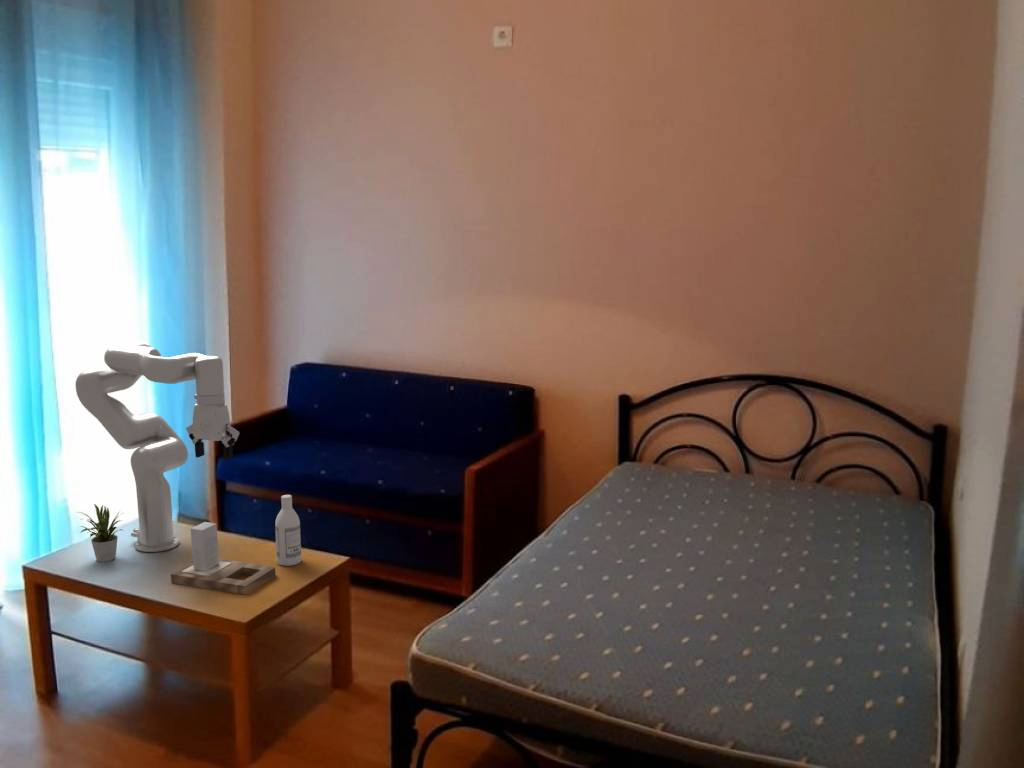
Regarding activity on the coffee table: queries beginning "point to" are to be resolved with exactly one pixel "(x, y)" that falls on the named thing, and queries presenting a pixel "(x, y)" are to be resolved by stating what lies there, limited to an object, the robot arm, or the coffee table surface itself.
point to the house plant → (103, 535)
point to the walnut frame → (225, 576)
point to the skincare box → (204, 546)
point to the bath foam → (288, 534)
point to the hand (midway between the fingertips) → (214, 457)
